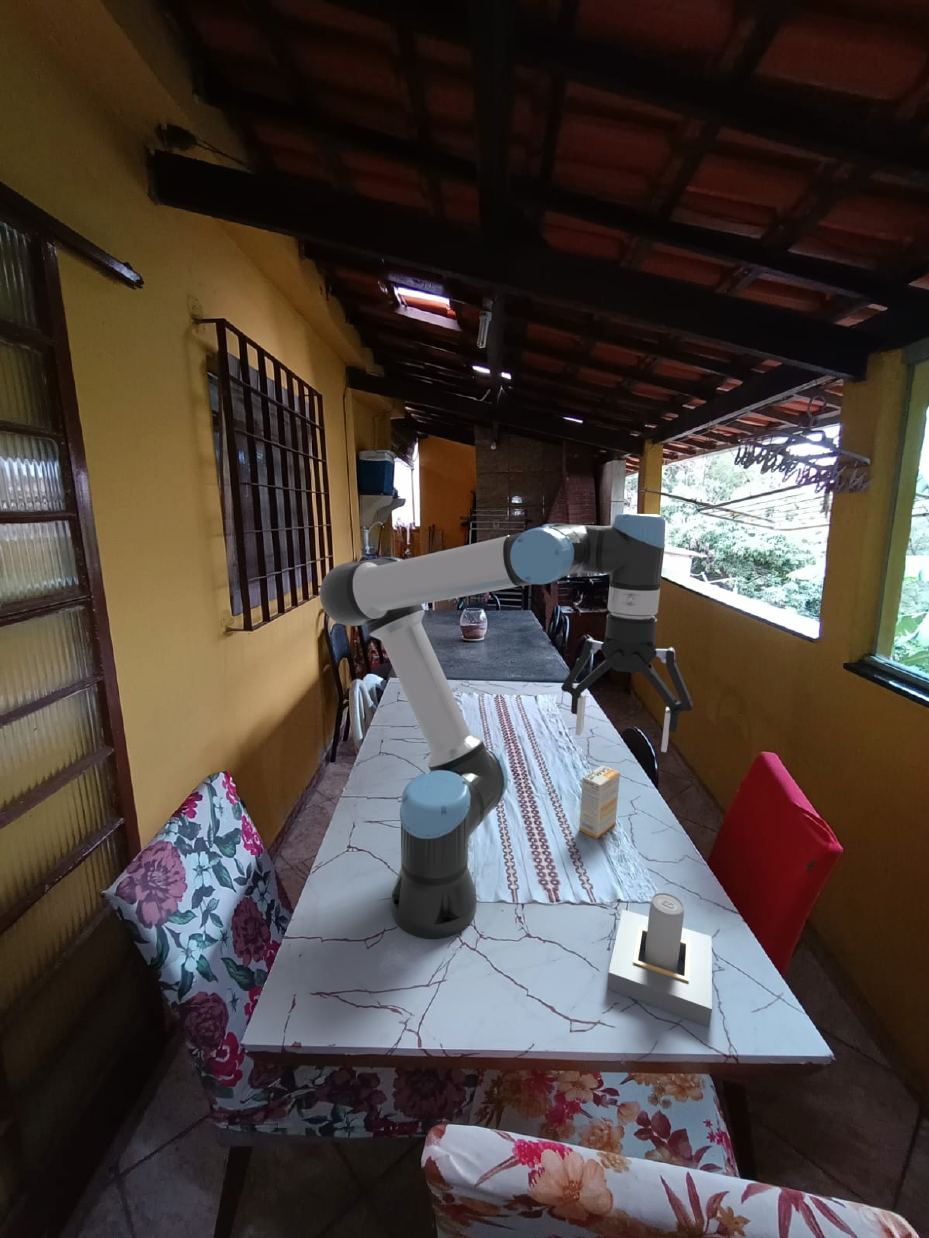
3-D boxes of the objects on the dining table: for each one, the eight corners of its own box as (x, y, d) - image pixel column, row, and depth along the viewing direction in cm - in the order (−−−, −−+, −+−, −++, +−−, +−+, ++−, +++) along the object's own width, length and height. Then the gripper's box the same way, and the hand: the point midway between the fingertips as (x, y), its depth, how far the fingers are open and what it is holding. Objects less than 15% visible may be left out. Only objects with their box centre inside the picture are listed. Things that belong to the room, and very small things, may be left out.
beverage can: (650, 951, 87) (657, 887, 84) (680, 968, 84) (689, 901, 81) (638, 971, 83) (645, 904, 81) (670, 989, 80) (678, 920, 78)
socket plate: (606, 988, 80) (608, 970, 79) (620, 923, 93) (622, 907, 92) (709, 1026, 75) (712, 1007, 74) (709, 952, 87) (711, 934, 86)
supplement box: (597, 815, 125) (601, 763, 122) (616, 824, 122) (621, 771, 119) (577, 830, 119) (581, 776, 116) (596, 839, 116) (600, 784, 113)
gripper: (547, 610, 86) (540, 734, 90) (719, 627, 76) (702, 766, 80) (559, 602, 92) (552, 718, 97) (719, 618, 82) (703, 746, 87)
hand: (620, 740), depth 89 cm, fingers open, 13 cm apart
